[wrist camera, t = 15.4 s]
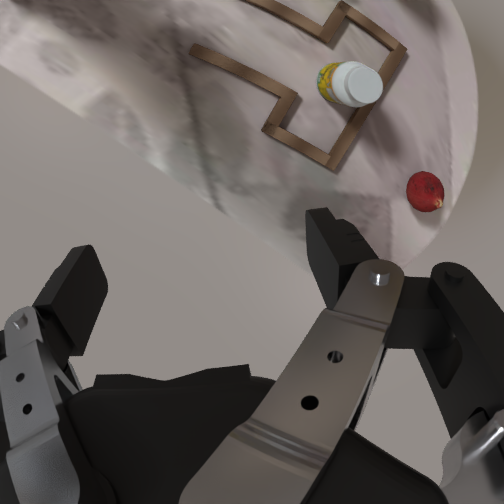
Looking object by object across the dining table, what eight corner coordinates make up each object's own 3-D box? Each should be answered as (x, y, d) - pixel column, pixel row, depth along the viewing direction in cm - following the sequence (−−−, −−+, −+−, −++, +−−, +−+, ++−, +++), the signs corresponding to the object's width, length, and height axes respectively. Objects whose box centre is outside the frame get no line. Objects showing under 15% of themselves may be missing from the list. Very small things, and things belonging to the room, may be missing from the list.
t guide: (171, 89, 34) (169, 89, 33) (251, -44, 25) (252, -46, 24) (331, 168, 41) (333, 170, 40) (403, 49, 32) (407, 49, 31)
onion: (393, 171, 42) (422, 192, 35) (424, 160, 41) (454, 178, 34) (400, 205, 45) (426, 229, 38) (429, 192, 44) (457, 214, 37)
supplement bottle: (332, 110, 37) (362, 120, 28) (306, 79, 34) (330, 80, 26) (361, 86, 35) (397, 91, 27) (336, 55, 33) (368, 51, 25)
